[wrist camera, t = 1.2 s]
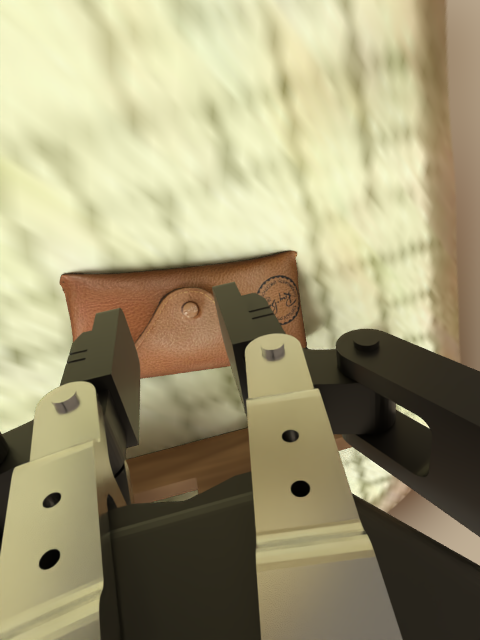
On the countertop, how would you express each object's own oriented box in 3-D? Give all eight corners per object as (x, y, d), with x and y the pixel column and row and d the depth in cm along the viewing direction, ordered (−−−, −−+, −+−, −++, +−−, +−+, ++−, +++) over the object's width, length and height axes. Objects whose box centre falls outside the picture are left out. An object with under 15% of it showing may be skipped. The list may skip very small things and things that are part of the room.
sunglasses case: (302, 242, 31) (329, 319, 28) (288, 296, 37) (309, 364, 34) (49, 273, 29) (45, 361, 25) (78, 325, 35) (78, 401, 31)
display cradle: (32, 417, 34) (11, 476, 29) (361, 335, 36) (397, 375, 31) (70, 487, 38) (58, 549, 33) (362, 409, 40) (394, 455, 35)
